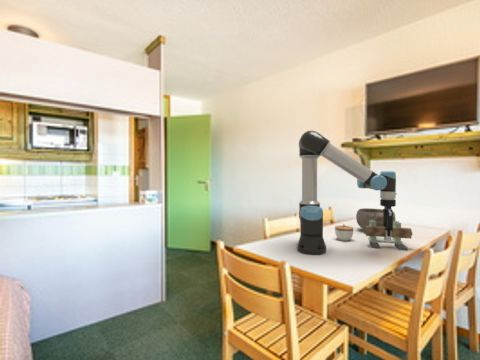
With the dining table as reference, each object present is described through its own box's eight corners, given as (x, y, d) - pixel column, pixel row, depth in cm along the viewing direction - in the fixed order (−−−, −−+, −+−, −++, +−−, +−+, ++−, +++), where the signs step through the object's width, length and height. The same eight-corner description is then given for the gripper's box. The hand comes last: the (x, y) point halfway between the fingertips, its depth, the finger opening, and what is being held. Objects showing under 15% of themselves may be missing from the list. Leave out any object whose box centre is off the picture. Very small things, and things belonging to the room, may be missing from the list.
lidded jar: (347, 243, 157) (347, 227, 157) (331, 239, 166) (331, 224, 165) (356, 239, 164) (356, 224, 164) (340, 236, 172) (340, 222, 172)
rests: (371, 247, 147) (371, 245, 147) (369, 243, 156) (369, 241, 155) (407, 250, 142) (407, 247, 142) (402, 246, 150) (402, 243, 150)
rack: (369, 241, 160) (369, 221, 160) (368, 238, 166) (368, 219, 166) (401, 243, 155) (402, 223, 155) (399, 241, 161) (399, 221, 160)
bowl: (394, 237, 169) (395, 214, 169) (353, 233, 182) (353, 211, 181) (395, 230, 190) (396, 209, 189) (358, 226, 202) (358, 207, 202)
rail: (365, 235, 150) (365, 227, 150) (364, 234, 154) (364, 225, 153) (412, 238, 143) (412, 229, 143) (410, 237, 146) (410, 228, 146)
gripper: (399, 200, 139) (399, 245, 139) (392, 197, 154) (391, 237, 155) (383, 200, 141) (383, 244, 142) (377, 197, 157) (377, 236, 158)
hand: (387, 240), depth 148 cm, fingers closed on rail, 3 cm apart
